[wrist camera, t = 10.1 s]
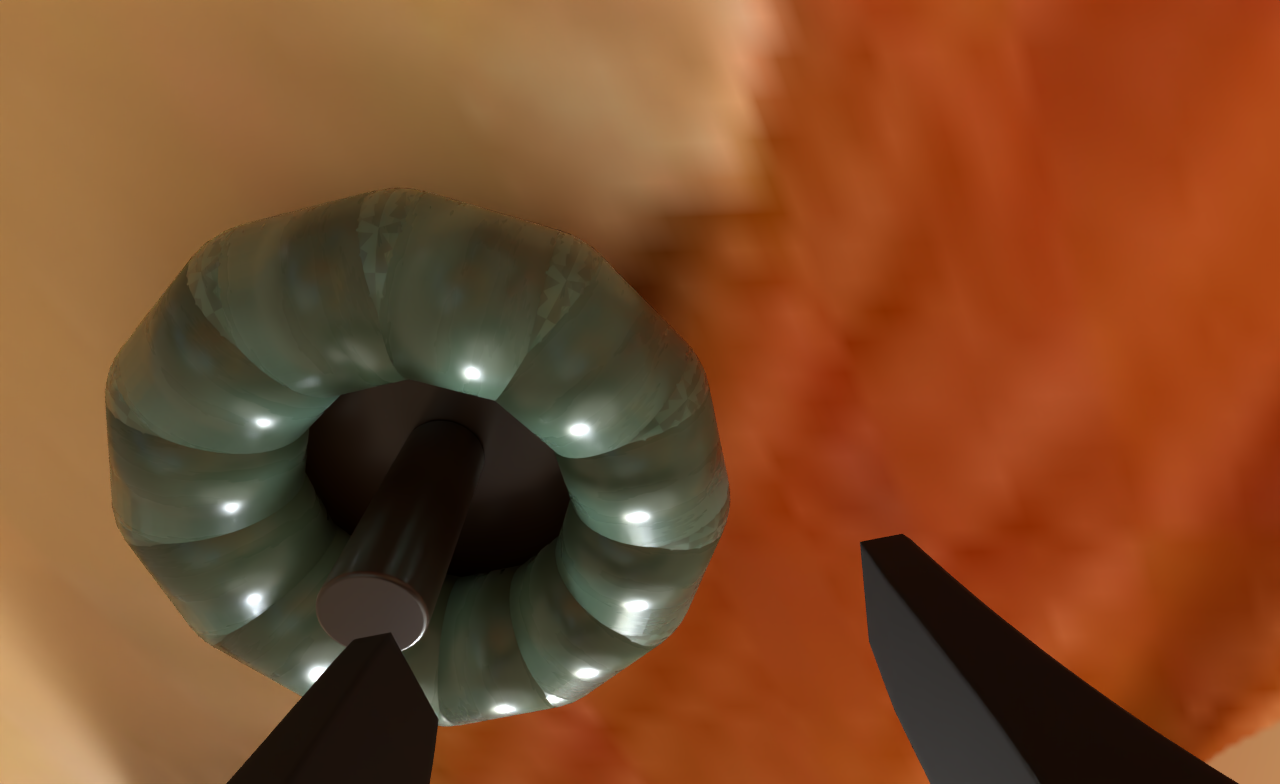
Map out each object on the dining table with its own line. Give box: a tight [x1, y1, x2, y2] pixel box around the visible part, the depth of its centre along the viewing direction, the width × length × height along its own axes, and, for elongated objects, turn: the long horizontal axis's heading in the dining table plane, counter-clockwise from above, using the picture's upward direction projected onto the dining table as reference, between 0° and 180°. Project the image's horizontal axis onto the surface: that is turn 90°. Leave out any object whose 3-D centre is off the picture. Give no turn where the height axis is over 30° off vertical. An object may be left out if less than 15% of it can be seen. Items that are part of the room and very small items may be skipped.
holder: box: [305, 234, 571, 651], centre depth 15 cm, size 9×9×6 cm
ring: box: [105, 188, 730, 726], centre depth 15 cm, size 13×13×4 cm
